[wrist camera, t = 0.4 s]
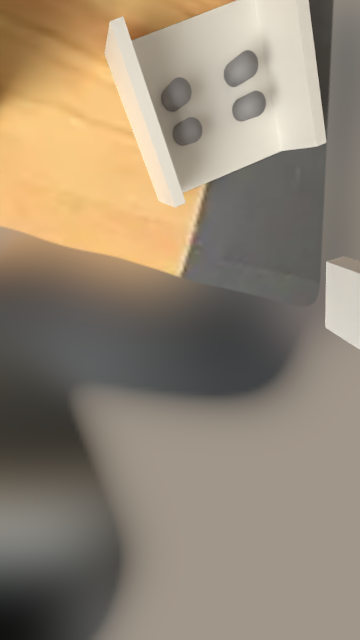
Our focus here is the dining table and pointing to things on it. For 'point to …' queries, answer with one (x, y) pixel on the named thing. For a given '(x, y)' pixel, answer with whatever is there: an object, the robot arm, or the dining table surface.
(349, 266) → the robot arm
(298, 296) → the dining table surface
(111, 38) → the peg frame
